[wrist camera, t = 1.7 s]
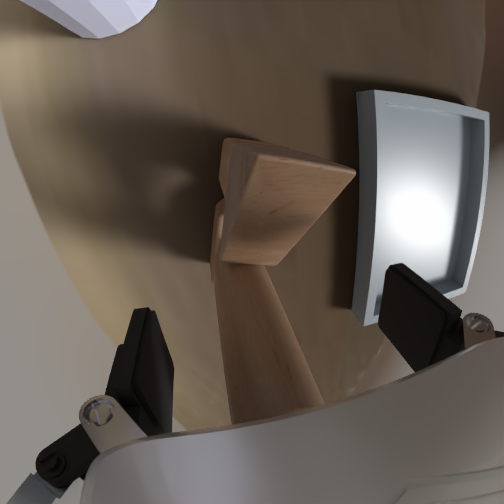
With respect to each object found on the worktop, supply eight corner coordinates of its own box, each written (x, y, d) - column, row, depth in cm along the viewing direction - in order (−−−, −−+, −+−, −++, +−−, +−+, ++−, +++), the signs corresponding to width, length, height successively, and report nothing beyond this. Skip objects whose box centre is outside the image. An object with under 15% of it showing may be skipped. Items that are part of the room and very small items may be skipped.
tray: (355, 92, 21) (374, 89, 18) (470, 110, 23) (488, 112, 20) (351, 309, 30) (363, 326, 27) (451, 281, 32) (465, 292, 29)
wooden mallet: (269, 142, 22) (436, 199, 6) (250, 265, 26) (317, 455, 10) (222, 136, 21) (288, 168, 5) (208, 263, 25) (230, 465, 9)
